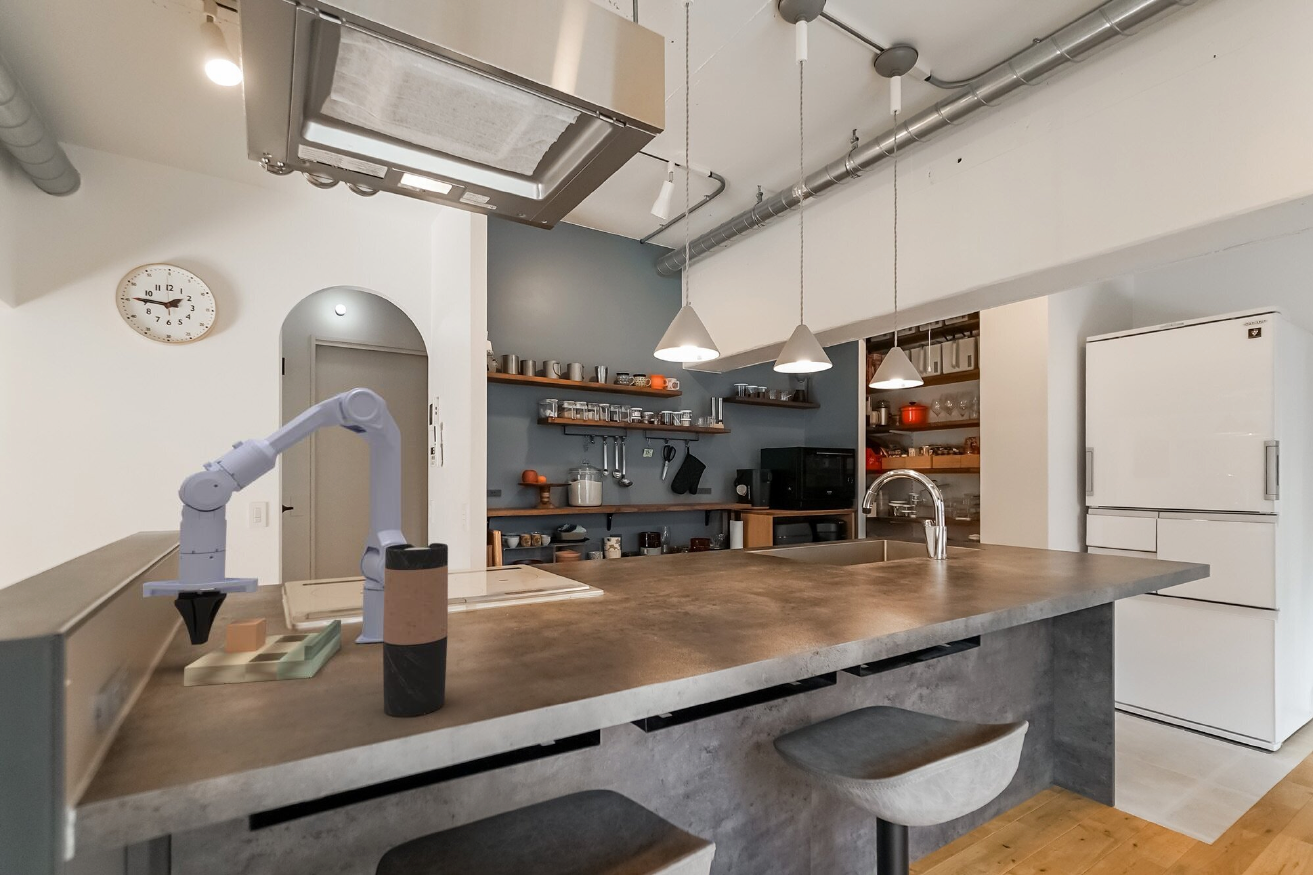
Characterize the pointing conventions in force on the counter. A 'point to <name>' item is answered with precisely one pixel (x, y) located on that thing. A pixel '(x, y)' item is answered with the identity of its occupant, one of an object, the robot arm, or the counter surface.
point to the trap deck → (267, 659)
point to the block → (245, 635)
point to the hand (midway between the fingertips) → (199, 643)
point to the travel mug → (415, 628)
